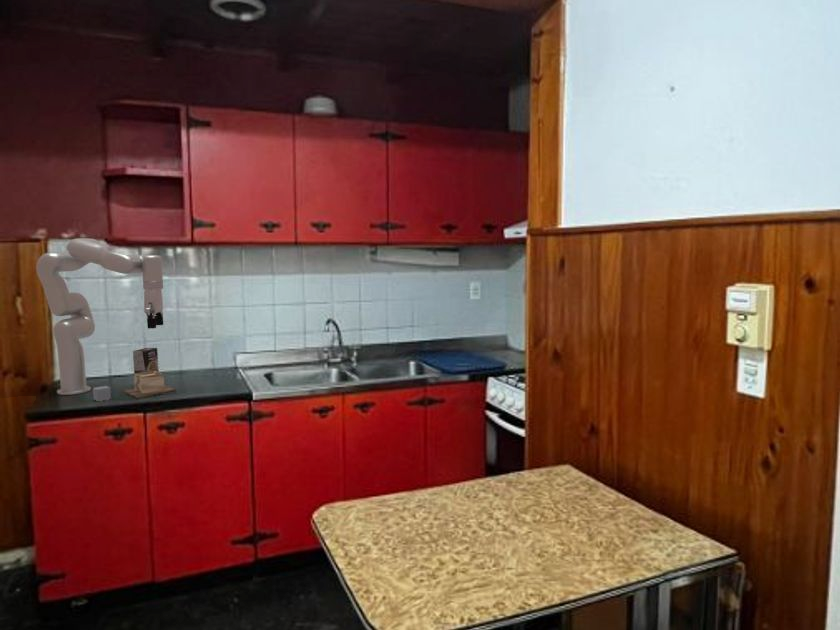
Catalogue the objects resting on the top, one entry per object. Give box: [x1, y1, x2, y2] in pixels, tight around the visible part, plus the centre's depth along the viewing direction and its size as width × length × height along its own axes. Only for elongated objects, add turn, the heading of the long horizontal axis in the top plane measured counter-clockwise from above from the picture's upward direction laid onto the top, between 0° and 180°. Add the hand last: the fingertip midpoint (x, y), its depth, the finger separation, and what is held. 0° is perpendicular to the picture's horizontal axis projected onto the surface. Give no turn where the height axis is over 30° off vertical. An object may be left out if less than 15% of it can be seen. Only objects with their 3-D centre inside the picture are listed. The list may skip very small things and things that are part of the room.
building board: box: [122, 371, 177, 399], centre depth 256 cm, size 16×16×8 cm
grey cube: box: [92, 385, 112, 402], centre depth 245 cm, size 5×5×5 cm
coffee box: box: [132, 347, 160, 375], centre depth 270 cm, size 9×6×16 cm
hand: (155, 326), depth 250 cm, fingers open, 9 cm apart
